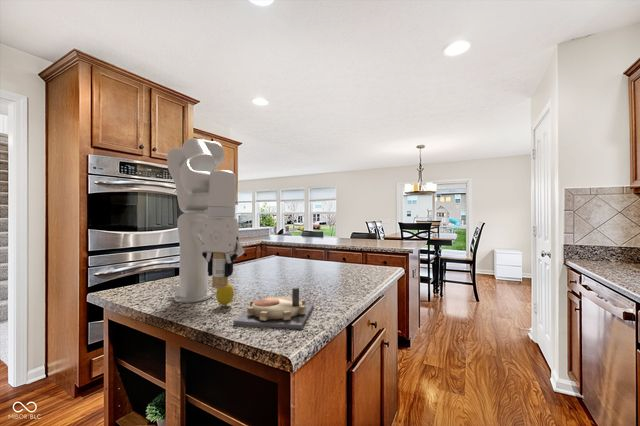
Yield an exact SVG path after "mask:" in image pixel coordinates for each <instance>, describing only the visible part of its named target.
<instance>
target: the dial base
mask: <svg viewBox="0 0 640 426" xmlns="http://www.w3.org/2000/svg"><path fill="white" fill-rule="evenodd" d="M305 306H306V312H305V313H304V314H298V315H296V316H293V317H291V319H288V320H284V319H267V320H266V321H264V320H260V318H259V317H256V316H254V315H251V316H249V315H248V314H247V310H245V311H244V312H243V313H241V314H240V315H239V316H238V317H236V318H235V319H234V320H233V323H232V324H233V326H239V327H241V326H242V327H255V328H256V327H257V328H270V329H272V328H273V329H290V330H302V329H303V327H304V325H305V323H306V322H307V320H308V318H309V316H310V314H311V313H312V311H313V310H314V308H315V305H314V302H312V303H311V302H305Z"/></svg>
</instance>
